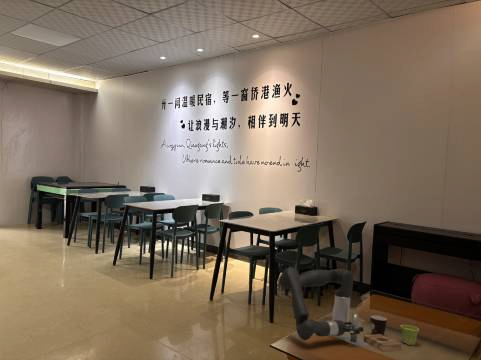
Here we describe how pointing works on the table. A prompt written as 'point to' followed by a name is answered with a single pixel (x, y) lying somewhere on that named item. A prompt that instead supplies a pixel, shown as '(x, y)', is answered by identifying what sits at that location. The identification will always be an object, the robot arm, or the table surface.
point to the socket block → (382, 342)
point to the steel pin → (355, 324)
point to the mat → (358, 343)
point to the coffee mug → (378, 324)
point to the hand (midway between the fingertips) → (357, 326)
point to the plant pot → (409, 334)
